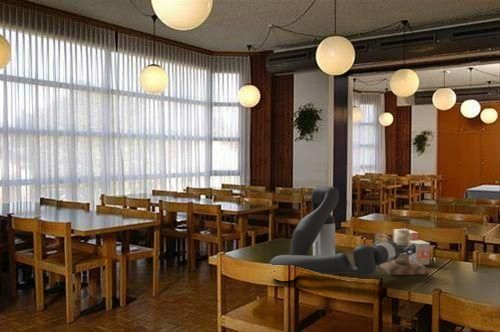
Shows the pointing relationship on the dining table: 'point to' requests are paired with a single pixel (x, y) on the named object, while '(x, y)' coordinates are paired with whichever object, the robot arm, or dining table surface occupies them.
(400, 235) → the dowel
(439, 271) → the dining table surface
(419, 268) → the board
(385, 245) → the robot arm
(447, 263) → the dining table surface
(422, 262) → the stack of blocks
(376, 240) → the tin
